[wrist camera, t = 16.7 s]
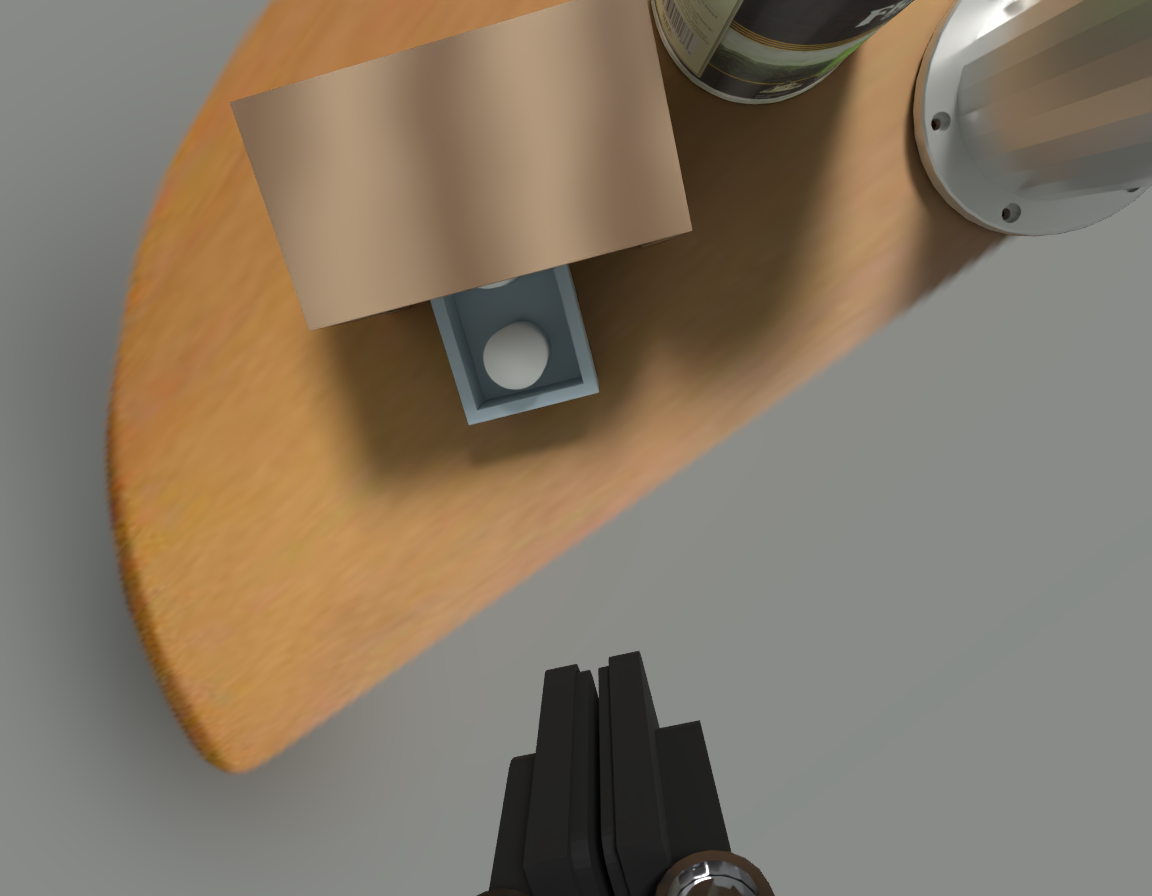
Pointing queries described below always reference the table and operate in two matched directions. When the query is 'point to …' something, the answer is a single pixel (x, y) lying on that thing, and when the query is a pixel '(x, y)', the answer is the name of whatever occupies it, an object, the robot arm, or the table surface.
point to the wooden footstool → (468, 160)
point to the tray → (485, 322)
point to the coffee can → (766, 42)
